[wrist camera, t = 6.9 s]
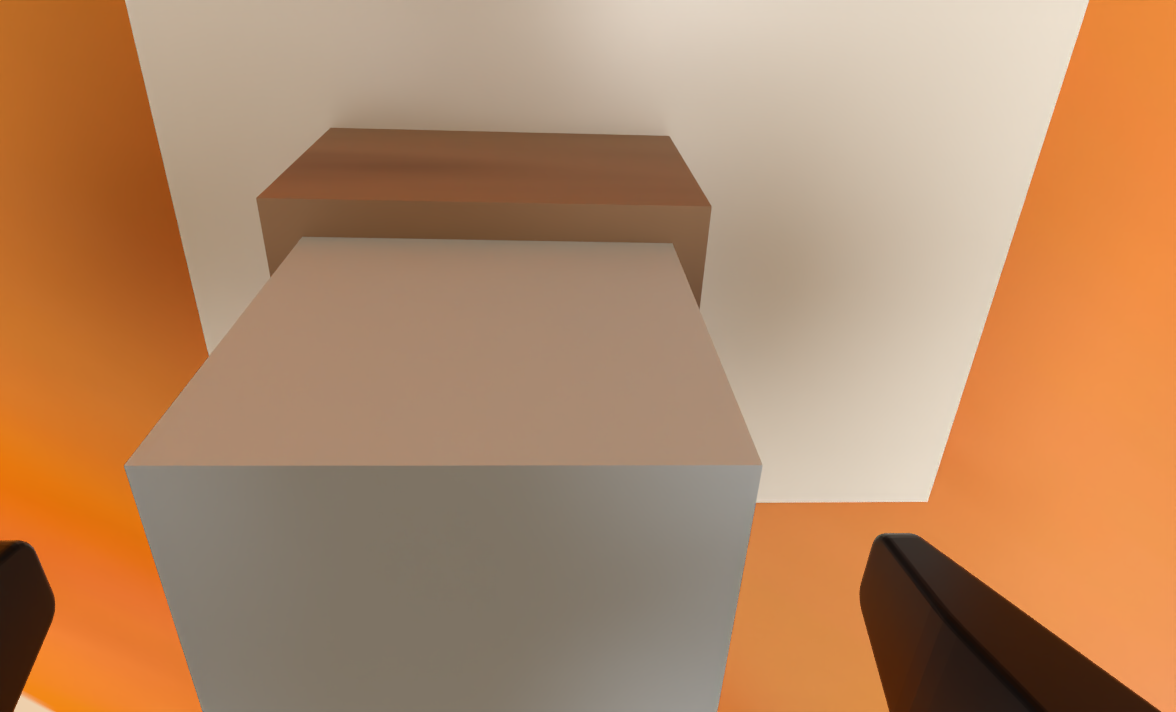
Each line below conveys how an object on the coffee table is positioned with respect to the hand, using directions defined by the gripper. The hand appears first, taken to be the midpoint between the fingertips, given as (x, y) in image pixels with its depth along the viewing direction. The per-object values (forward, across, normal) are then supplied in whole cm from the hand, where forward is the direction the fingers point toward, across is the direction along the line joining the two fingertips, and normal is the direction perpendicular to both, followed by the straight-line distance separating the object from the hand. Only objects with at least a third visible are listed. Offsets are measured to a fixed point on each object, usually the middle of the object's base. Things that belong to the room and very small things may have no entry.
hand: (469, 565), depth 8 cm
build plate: (+9, -2, 0) cm, 9 cm away
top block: (+4, 0, 0) cm, 4 cm away
